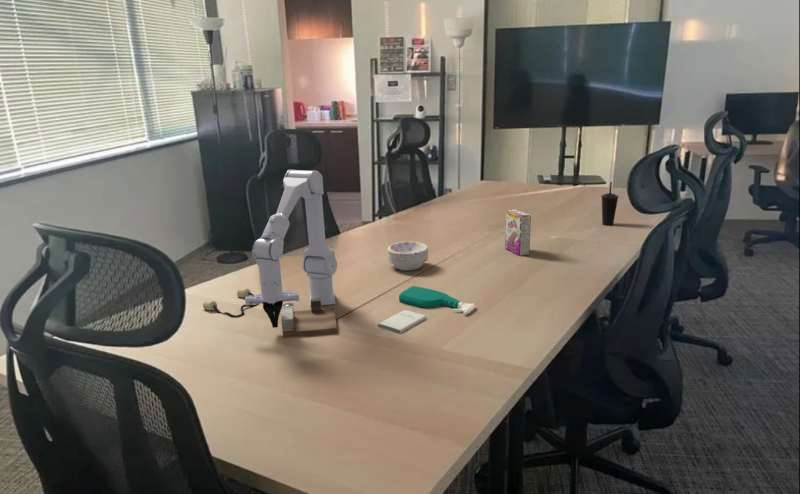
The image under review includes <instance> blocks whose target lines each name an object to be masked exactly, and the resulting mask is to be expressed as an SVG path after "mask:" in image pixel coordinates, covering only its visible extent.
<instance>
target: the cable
mask: <svg viewBox="0 0 800 494" xmlns="http://www.w3.org/2000/svg"><path fill="white" fill-rule="evenodd" d="M254 295H255V294H253V293H252V292H251V290H250V289H249V288H246V287H245V288H241V287H239V288H238V290H237V292H236V296H238V298H243V299H245V298H246V297H248V296H254ZM259 305H260V304H250V305H247V306H246V304H242V305H241V307H240V312H241V313H240V314H235V315H234V314H232V313H230V312H227V311H226V312H225V311H224V312H222V311H221V310H219V309H218V303H217V301H215V300H208V299H207V300H205V301H204V302H203V304H202V308H203V309H204V310H205V309H207V310H206V311H210V310H214V311H215V312H216V313H218V312H219V313H223V314H222V315H226V314H227V315H228V316H229V317H231V318H234V317H236V318H240V316H241V317H243V316H244V315H245V311H244V308H246V307H247V308H248V307H249V308H250V307H251V308H253V307H257V306H259ZM219 313H218V314H219Z"/></svg>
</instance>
